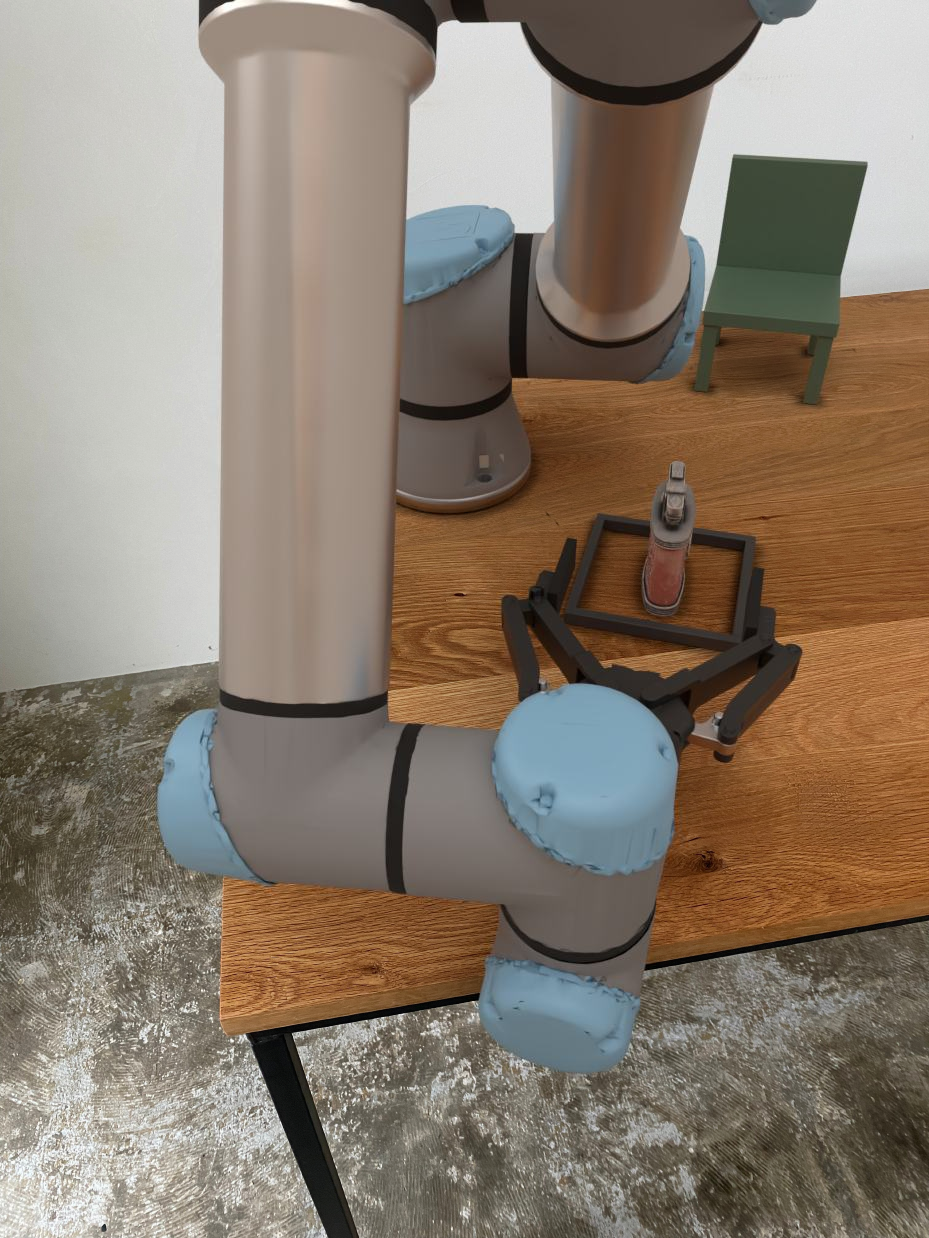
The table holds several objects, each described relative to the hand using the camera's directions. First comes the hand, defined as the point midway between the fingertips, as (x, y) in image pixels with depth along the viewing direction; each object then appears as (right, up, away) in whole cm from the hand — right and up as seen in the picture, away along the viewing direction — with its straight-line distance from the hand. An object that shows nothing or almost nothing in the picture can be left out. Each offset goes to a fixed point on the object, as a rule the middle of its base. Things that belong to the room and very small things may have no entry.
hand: (661, 566), depth 69 cm
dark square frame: (+2, -1, +8) cm, 8 cm away
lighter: (+2, -1, +8) cm, 8 cm away
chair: (+18, +24, +34) cm, 45 cm away
